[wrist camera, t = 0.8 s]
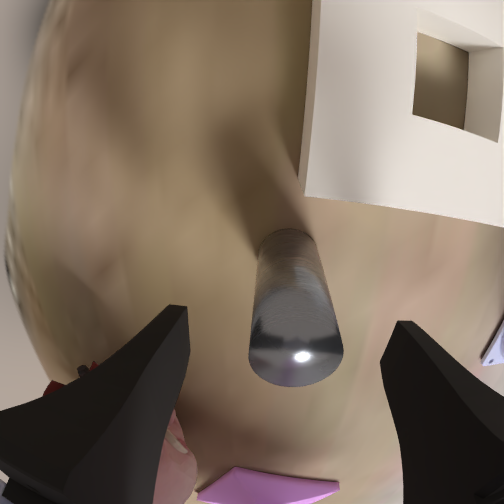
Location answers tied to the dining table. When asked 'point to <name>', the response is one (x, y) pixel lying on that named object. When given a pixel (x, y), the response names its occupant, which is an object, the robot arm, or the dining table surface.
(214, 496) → the pink table lamp
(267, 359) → the peg
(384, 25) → the socket block
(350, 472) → the dining table surface
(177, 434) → the toy
